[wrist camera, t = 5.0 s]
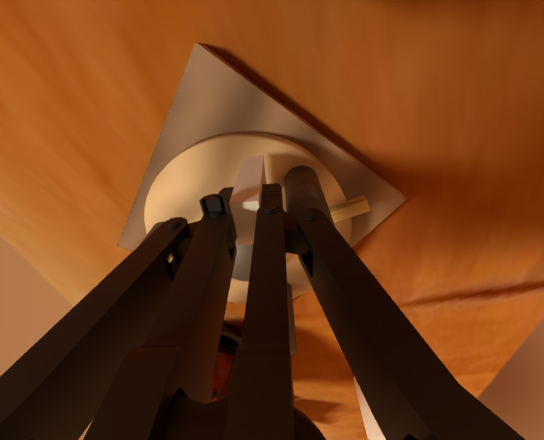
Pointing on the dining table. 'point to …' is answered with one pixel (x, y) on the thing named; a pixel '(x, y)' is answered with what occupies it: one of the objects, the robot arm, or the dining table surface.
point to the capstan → (223, 173)
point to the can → (368, 417)
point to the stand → (251, 118)
